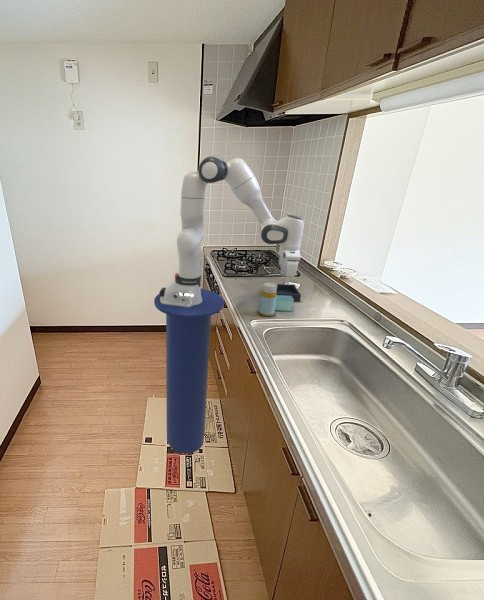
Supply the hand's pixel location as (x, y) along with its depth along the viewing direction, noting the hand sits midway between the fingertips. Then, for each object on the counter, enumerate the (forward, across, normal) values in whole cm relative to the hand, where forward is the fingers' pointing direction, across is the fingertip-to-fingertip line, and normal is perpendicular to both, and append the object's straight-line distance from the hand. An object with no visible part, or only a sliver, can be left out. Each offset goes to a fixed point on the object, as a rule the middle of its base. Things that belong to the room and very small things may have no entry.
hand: (284, 279), depth 156 cm
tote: (+15, -17, +5) cm, 23 cm away
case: (+15, 0, +1) cm, 15 cm away
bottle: (+15, +7, -7) cm, 19 cm away
